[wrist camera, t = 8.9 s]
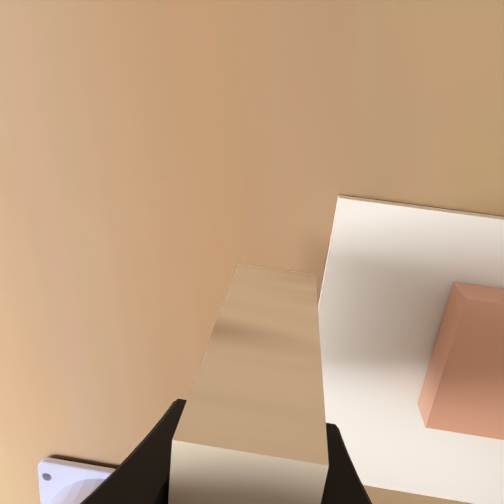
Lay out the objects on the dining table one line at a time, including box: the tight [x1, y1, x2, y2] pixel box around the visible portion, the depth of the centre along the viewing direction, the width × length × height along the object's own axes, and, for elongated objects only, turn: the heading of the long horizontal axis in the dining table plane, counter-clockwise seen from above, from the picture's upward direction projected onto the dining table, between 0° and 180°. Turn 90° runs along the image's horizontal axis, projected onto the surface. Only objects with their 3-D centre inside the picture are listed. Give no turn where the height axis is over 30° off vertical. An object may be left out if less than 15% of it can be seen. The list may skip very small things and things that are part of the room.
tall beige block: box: [168, 263, 329, 504], centre depth 12 cm, size 6×2×8 cm, turn 174°
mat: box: [318, 195, 504, 504], centre depth 20 cm, size 14×16×1 cm
